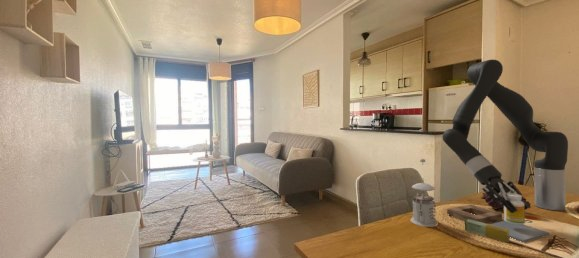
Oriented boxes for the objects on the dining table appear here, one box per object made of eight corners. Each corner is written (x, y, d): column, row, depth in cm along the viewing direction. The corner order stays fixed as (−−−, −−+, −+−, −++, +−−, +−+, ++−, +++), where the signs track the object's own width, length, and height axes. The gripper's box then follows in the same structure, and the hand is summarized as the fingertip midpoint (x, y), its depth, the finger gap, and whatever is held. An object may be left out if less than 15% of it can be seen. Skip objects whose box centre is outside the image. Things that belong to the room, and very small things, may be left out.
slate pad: (508, 221, 94) (508, 219, 94) (549, 234, 83) (549, 232, 83) (483, 228, 90) (482, 225, 90) (523, 242, 78) (523, 240, 78)
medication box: (464, 231, 88) (464, 220, 88) (467, 229, 90) (467, 218, 90) (507, 244, 78) (507, 231, 78) (510, 241, 80) (510, 229, 80)
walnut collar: (470, 210, 107) (470, 204, 107) (502, 220, 96) (502, 213, 96) (447, 215, 103) (447, 209, 103) (477, 225, 92) (477, 219, 92)
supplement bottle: (528, 225, 83) (528, 197, 83) (510, 224, 84) (510, 196, 84) (517, 219, 88) (517, 192, 88) (500, 218, 90) (500, 192, 89)
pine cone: (536, 215, 99) (536, 191, 99) (522, 220, 95) (522, 194, 95) (487, 203, 115) (486, 182, 115) (473, 206, 112) (473, 184, 111)
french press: (441, 220, 97) (439, 158, 97) (433, 230, 89) (432, 162, 88) (414, 215, 104) (413, 156, 104) (405, 223, 96) (403, 160, 95)
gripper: (477, 165, 91) (516, 208, 80) (502, 162, 95) (543, 202, 84) (463, 177, 96) (497, 218, 85) (488, 173, 100) (524, 212, 89)
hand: (520, 210), depth 85 cm, fingers closed on supplement bottle, 5 cm apart
